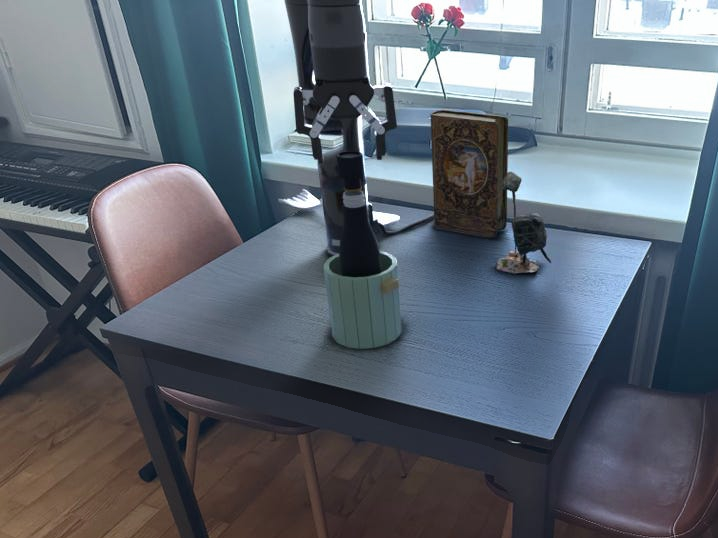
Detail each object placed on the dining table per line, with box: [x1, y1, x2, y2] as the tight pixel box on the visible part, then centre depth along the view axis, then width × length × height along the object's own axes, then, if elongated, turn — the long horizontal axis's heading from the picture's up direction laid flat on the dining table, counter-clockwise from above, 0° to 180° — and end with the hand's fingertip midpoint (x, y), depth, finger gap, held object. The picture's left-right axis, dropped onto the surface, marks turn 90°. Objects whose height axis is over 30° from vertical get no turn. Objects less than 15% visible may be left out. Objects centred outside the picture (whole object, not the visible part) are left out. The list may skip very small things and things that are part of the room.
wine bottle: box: [336, 151, 381, 277], centre depth 111 cm, size 6×6×30 cm
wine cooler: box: [323, 250, 402, 350], centre depth 116 cm, size 12×14×12 cm
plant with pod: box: [493, 171, 552, 275], centre depth 135 cm, size 8×11×20 cm
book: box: [429, 109, 509, 239], centre depth 152 cm, size 16×6×25 cm, turn 65°
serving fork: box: [277, 188, 400, 229], centre depth 164 cm, size 9×32×4 cm, turn 59°
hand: (350, 160), depth 104 cm, fingers open, 8 cm apart
